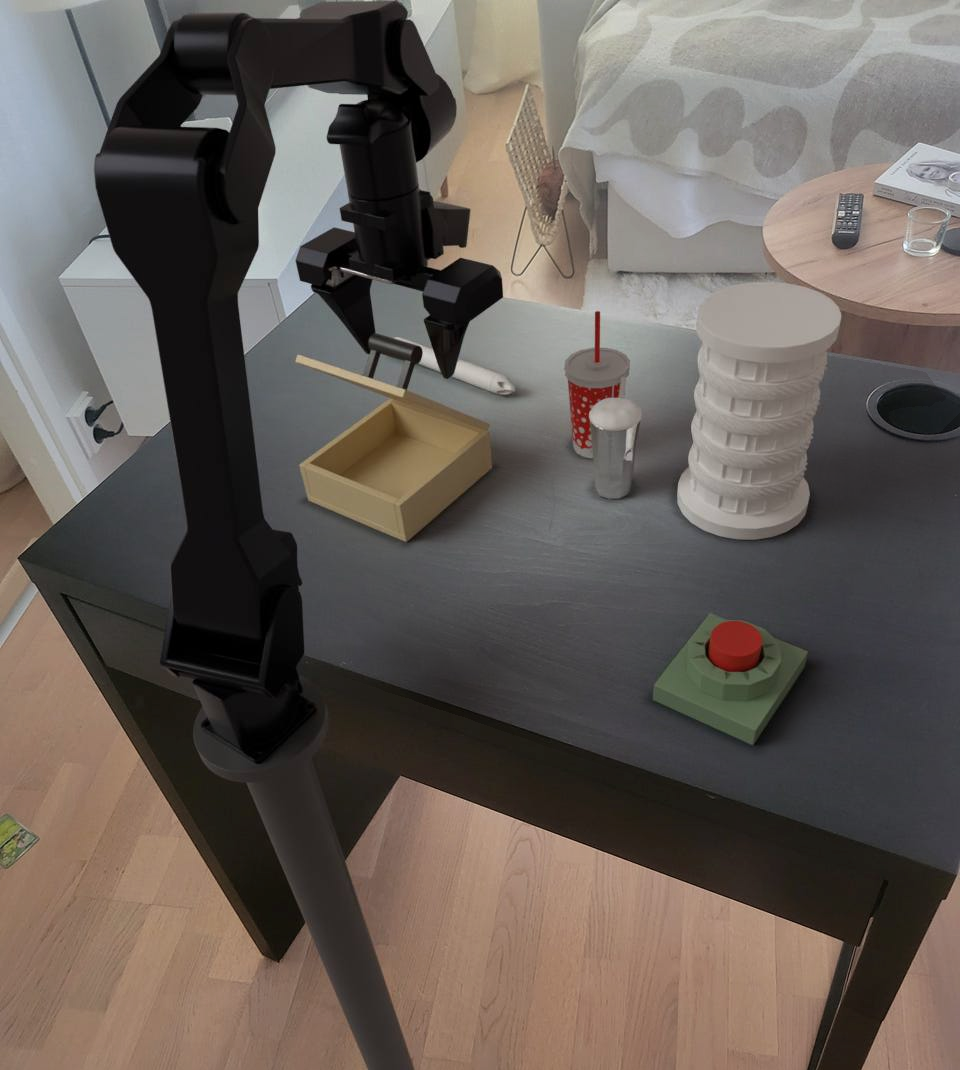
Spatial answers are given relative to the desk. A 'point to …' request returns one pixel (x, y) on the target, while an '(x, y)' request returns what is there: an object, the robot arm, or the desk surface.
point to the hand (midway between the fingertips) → (409, 364)
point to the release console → (729, 684)
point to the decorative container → (755, 407)
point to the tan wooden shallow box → (397, 468)
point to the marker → (469, 372)
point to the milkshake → (614, 443)
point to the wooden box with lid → (400, 393)
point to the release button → (735, 646)
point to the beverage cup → (592, 385)
